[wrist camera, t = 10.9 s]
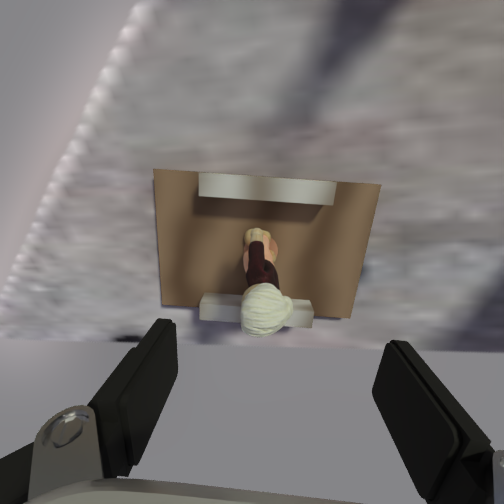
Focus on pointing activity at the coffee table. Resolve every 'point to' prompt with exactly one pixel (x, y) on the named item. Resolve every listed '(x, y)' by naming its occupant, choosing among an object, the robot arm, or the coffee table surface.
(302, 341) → the coffee table surface
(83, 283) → the coffee table surface
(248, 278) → the grandmother figurine
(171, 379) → the robot arm
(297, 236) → the board
